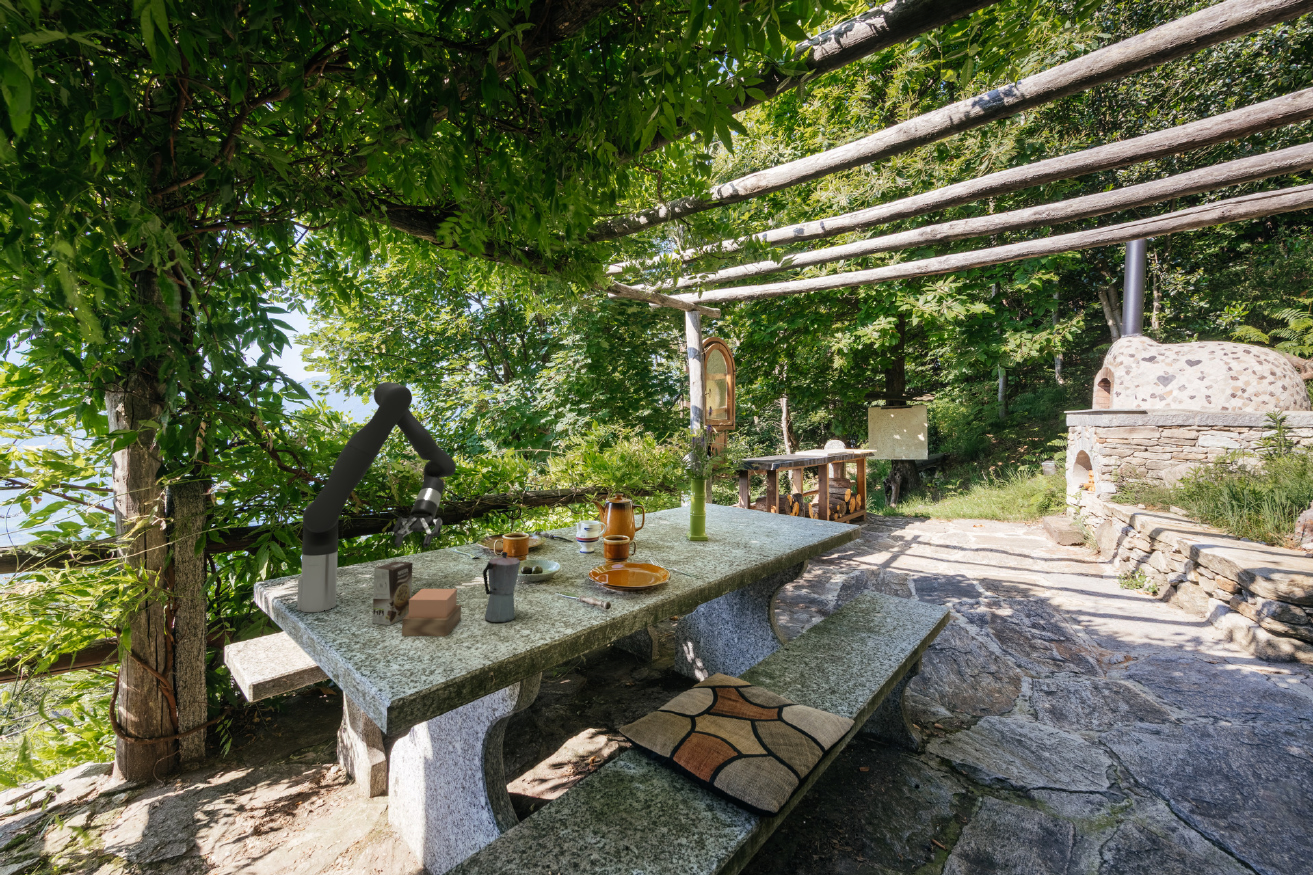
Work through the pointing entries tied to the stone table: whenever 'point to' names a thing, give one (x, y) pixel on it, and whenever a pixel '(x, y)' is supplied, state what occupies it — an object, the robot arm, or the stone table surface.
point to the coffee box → (391, 592)
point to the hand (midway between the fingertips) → (411, 546)
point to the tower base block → (431, 624)
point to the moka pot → (501, 588)
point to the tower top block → (432, 603)
